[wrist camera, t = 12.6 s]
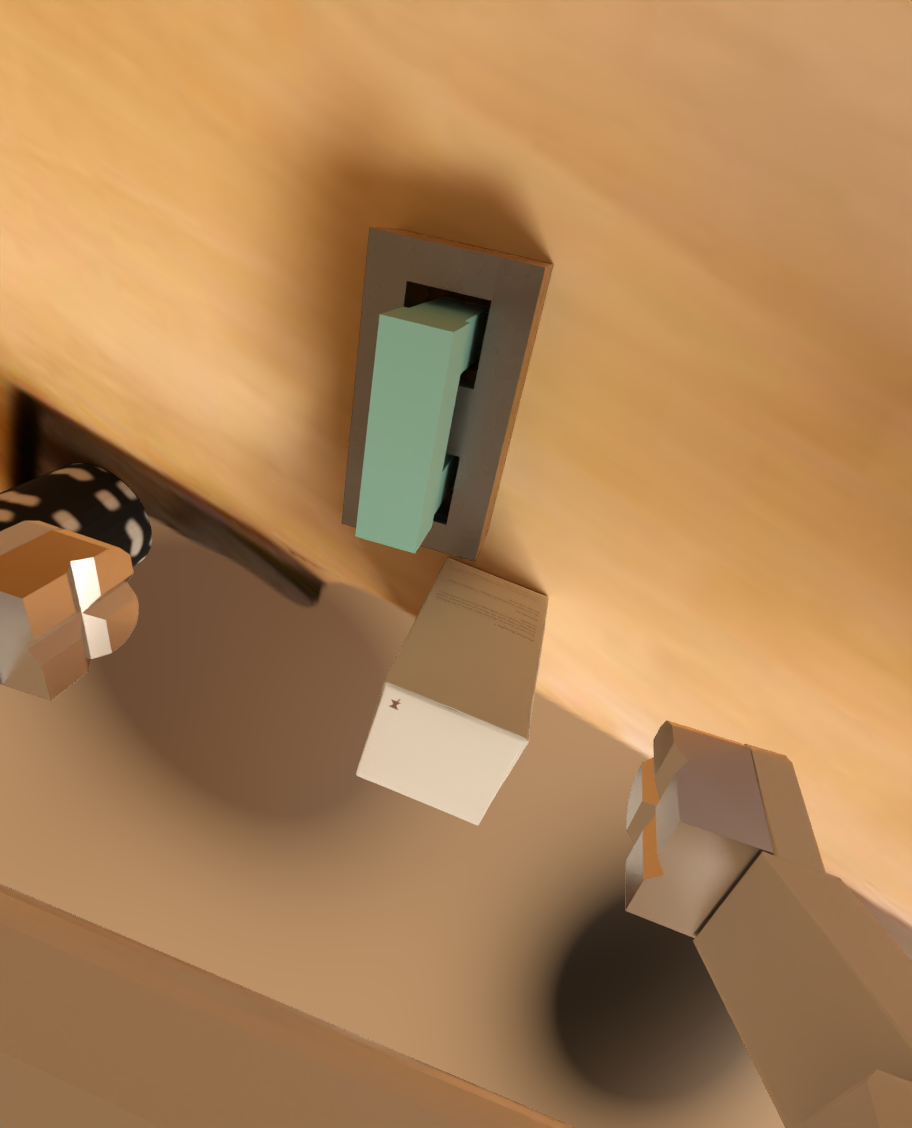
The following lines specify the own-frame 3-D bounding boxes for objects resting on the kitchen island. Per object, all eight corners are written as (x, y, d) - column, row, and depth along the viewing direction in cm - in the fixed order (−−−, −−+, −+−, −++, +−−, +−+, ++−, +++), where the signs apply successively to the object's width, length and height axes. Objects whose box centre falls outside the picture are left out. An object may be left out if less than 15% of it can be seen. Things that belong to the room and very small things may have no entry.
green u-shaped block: (494, 308, 30) (453, 332, 22) (458, 485, 35) (414, 553, 27) (438, 295, 30) (379, 314, 22) (411, 472, 35) (355, 536, 28)
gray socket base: (553, 264, 28) (545, 267, 25) (488, 531, 36) (474, 561, 33) (397, 229, 29) (369, 227, 26) (366, 497, 37) (341, 523, 33)
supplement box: (416, 636, 41) (348, 776, 31) (447, 553, 37) (381, 679, 27) (512, 676, 41) (477, 831, 30) (554, 596, 37) (530, 742, 26)
